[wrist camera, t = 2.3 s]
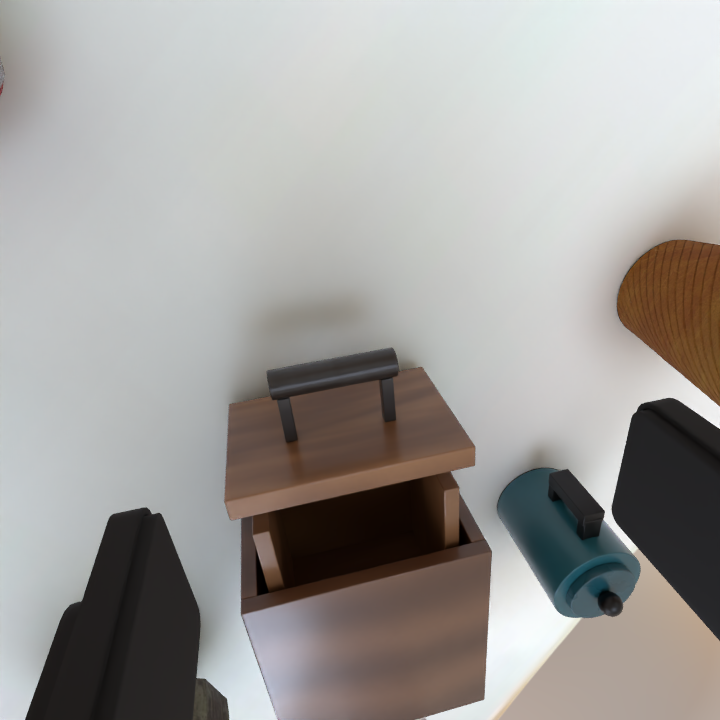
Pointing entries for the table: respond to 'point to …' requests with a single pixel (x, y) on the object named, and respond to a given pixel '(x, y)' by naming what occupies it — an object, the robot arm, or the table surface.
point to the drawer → (345, 468)
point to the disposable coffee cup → (678, 308)
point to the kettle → (568, 543)
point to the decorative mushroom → (1, 76)
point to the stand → (374, 634)
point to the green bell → (209, 702)
